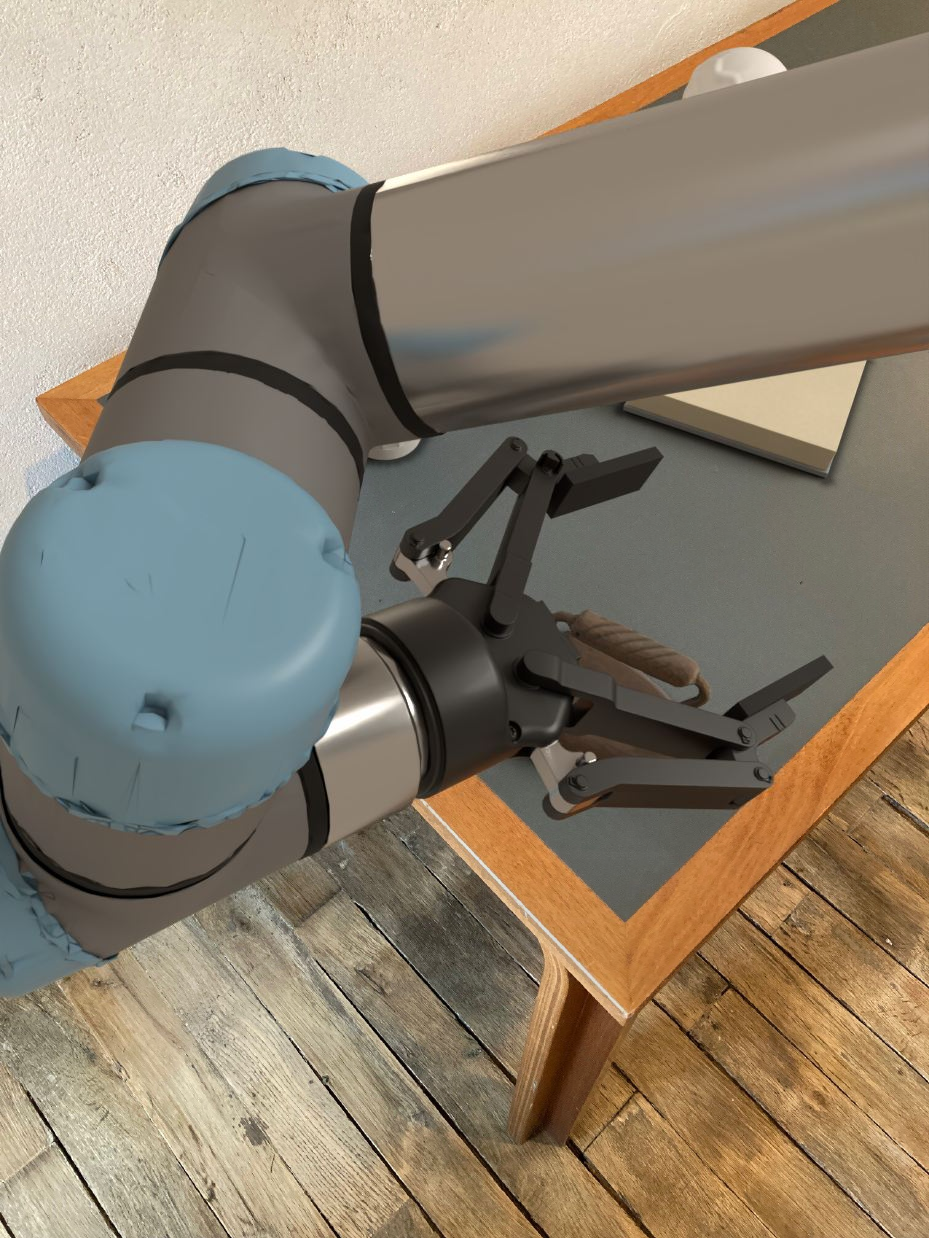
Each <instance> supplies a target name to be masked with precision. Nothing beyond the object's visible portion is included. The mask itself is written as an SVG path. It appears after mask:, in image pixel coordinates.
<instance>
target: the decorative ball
mask: <svg viewBox="0 0 929 1238" xmlns="http://www.w3.org/2000/svg"><path fill="white" fill-rule="evenodd" d="M787 70H788V69H787V68H786V67H785V65H784V64H783V63H782V62H781V61H780V60H779V59H778V58H777V57H776V56H775V55H774V54H771V53H770V52H768V51H766V50H763V49H761V48H757V47H751V46H739V47H731V48H728V49H725V50H721V51H719V52H718V53H716V54H713V55H712V56H710V57H708V58H706V59H705V60H704V61H703V62H702V63H700V64H698V65H697V66H696V67H695V68H694V70H693V71H692V73H691V76H690V79H689V81H688V83H687V85H686V87H685V89H684V91H683V93H682V98H681V99H685V98H688V97H692V96H696V95H699V94H703V93H706V92H710V91H714V90H717V89H721V88H725V87H728V86H732V85H736V84H739V83H743V82H747V81H750V80H754V79H758V78H761V77H765V76H769V75H772V74H776V73H780V72H783V71H787Z"/></svg>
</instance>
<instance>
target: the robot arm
mask: <svg viewBox="0 0 929 1238" xmlns="http://www.w3.org/2000/svg"><path fill="white" fill-rule="evenodd" d="M155 276H156V277H155V279H154V281H153V284H152V287H151V289H150V292H149V293H148V297H147V298H146V299H147V300H146V302H145V304H144V307H143V308H142V312H141V315H140V317H139V319H138V322H137V324H136V327H135V330H134V332H133V334H132V337H131V339H130V342H129V345H128V347H127V350H126V353H125V354H124V357H123V360H122V363H121V365H120V368H119V370H118V373H117V375H116V378H115V380H114V382H113V385H112V388H111V389H110V393H109V395H108V397H107V399H106V402H105V403H104V406H103V408H102V410H101V411H100V415H99V416H98V419H97V421H96V423H95V425H94V429H93V430H92V432H91V435H90V437H89V440H88V443H87V444H86V447H85V449H84V451H83V454H82V456H81V459H80V460H79V463H78V465H77V466H76V467H75V468H73V469H71V470H70V471H68V472H65V473H64V474H62V475H60V476H58V477H57V478H55V480H54V481H52V482H51V483H50V484H48V486H46V487H45V488H42V489H41V490H39V491H38V492H37V493H36V494H35V495H33V496H32V498H30V500H28V502H27V503H26V504H25V506H24V507H23V508H22V510H21V511H20V513H19V514H18V516H17V517H16V519H15V520H14V522H13V523H12V526H11V527H10V529H9V531H8V533H7V535H6V537H5V539H4V541H3V544H2V546H1V550H0V998H9V999H10V998H19V997H22V996H26V995H28V994H30V993H33V992H36V991H38V990H40V989H42V988H44V987H47V986H49V985H51V984H53V983H55V982H57V981H60V980H62V979H64V978H67V977H69V976H72V975H73V974H75V973H78V972H80V971H82V970H85V969H87V968H93V967H95V968H102V967H104V966H106V965H107V964H110V963H111V962H113V961H115V960H116V959H118V956H119V954H120V953H121V952H123V951H125V950H127V949H128V948H130V947H132V946H134V945H136V944H138V943H140V942H143V941H144V940H146V939H148V938H150V937H152V936H154V935H155V934H157V933H159V932H162V931H163V930H166V929H167V928H169V927H171V926H173V925H175V924H177V923H179V922H181V921H183V920H185V919H187V918H188V917H190V916H193V915H194V914H196V913H198V912H200V911H202V910H204V909H206V908H208V907H210V906H212V905H214V904H216V903H218V902H220V901H221V900H223V899H225V898H227V897H229V896H231V895H233V894H235V893H237V892H239V891H241V890H243V889H245V888H248V887H249V886H251V885H253V884H255V883H257V882H259V881H261V880H263V879H264V878H266V877H268V876H271V875H273V874H274V873H276V872H278V871H280V870H282V869H284V868H286V867H288V866H290V865H292V864H294V863H296V862H299V861H302V860H304V859H306V858H308V857H310V856H312V855H314V854H317V853H319V852H320V851H322V850H324V849H326V848H328V847H330V846H332V845H334V844H336V843H339V842H341V841H343V840H345V839H347V838H349V837H351V836H353V835H355V834H357V833H359V832H361V831H363V830H366V829H367V828H370V827H372V826H374V825H376V824H379V823H380V822H383V821H384V820H387V819H389V818H391V817H393V816H395V815H397V814H399V813H401V812H403V811H405V810H406V809H408V808H409V807H411V805H413V803H414V801H415V800H426V799H430V798H432V797H434V796H437V795H438V794H440V793H442V792H444V791H446V790H448V789H450V788H452V787H454V786H456V785H458V784H460V783H462V782H464V781H467V780H468V779H470V778H472V777H475V776H476V775H478V774H480V773H483V772H484V771H486V770H489V769H490V768H492V767H494V766H496V765H498V764H500V763H502V762H505V761H507V760H510V759H526V760H531V762H532V764H533V766H534V768H535V769H536V771H537V774H539V777H540V778H541V780H542V783H543V785H544V786H545V788H546V790H547V793H546V794H545V795H544V797H543V798H542V800H541V807H542V810H543V812H544V814H545V815H546V817H548V818H549V819H551V820H553V821H557V822H558V821H564V820H566V819H569V818H571V817H573V816H576V815H579V814H580V813H583V812H586V811H588V810H591V809H593V808H613V809H614V808H619V809H620V808H621V809H671V810H673V809H674V810H723V811H725V810H726V811H727V810H728V811H735V810H739V809H740V808H742V807H743V806H744V805H746V804H748V803H749V802H750V801H752V800H753V799H755V798H756V797H758V796H759V795H760V794H761V795H762V793H764V792H766V791H767V790H768V789H770V788H771V787H772V786H773V785H774V782H775V775H774V773H773V771H772V769H771V768H770V767H769V766H768V765H767V764H765V763H764V762H762V761H760V760H759V758H758V753H757V749H758V747H760V746H761V745H763V744H765V743H767V742H768V741H770V740H771V739H774V738H775V737H777V736H778V735H779V734H780V733H782V732H783V731H784V730H785V729H787V728H789V726H791V725H792V724H794V721H795V720H796V717H797V714H796V713H795V712H794V710H793V708H792V707H791V706H790V704H788V702H789V701H791V700H793V699H794V698H796V697H799V696H800V695H801V694H803V692H805V691H806V690H807V689H809V688H810V687H811V686H812V685H814V684H815V683H816V682H817V681H819V680H820V679H821V678H823V677H824V676H825V675H826V674H828V673H829V672H830V671H832V670H833V669H835V667H834V665H833V664H832V663H831V661H830V660H829V659H828V658H827V657H826V655H825V654H822V655H821V656H819V657H817V658H815V659H813V660H811V661H810V662H808V663H806V664H804V665H802V666H801V667H799V668H797V669H795V670H793V671H791V672H790V673H788V674H786V675H784V676H782V677H780V678H778V679H777V680H776V681H773V682H772V683H770V684H767V685H766V686H764V687H763V688H761V689H759V690H757V691H755V692H753V693H752V694H750V695H748V696H746V697H744V698H743V699H741V700H739V701H737V702H736V703H734V705H732V706H731V707H730V708H729V709H727V711H726V712H724V713H723V714H718V713H715V712H712V711H708V710H705V709H702V708H695V707H692V706H688V705H685V704H682V703H679V702H678V701H675V700H672V699H671V700H672V701H671V700H668V699H665V698H661V697H658V696H654V695H651V694H648V693H644V692H641V691H638V690H634V689H631V688H627V687H624V686H621V685H618V684H616V683H615V679H614V677H613V676H611V675H608V674H605V673H602V672H598V671H595V670H592V669H588V668H585V667H582V666H580V664H579V660H580V659H581V657H582V656H581V654H580V653H579V651H578V650H577V649H576V647H575V646H574V644H573V643H572V642H571V641H570V640H569V639H568V638H567V637H566V636H565V635H564V634H563V632H562V631H561V630H560V629H559V627H558V624H557V625H556V622H555V620H554V618H553V615H552V614H553V613H552V611H551V609H549V607H548V606H547V605H546V603H545V602H544V600H543V599H541V600H539V601H537V600H535V599H534V598H533V597H531V596H530V595H528V594H525V593H524V592H525V589H526V586H527V583H528V579H529V577H530V573H531V569H532V567H533V562H532V559H533V556H534V552H535V550H536V546H537V542H538V540H539V538H540V537H539V536H540V533H541V530H542V528H543V524H544V521H545V517H546V515H547V516H548V518H550V520H552V519H556V518H559V517H562V516H565V515H568V514H571V513H574V512H577V511H580V510H583V509H586V508H590V507H593V506H595V505H598V504H602V503H604V502H607V501H610V500H613V499H617V498H620V497H624V496H625V495H629V494H632V493H635V492H638V491H640V490H641V489H642V487H643V486H644V485H645V484H646V483H647V480H648V479H649V478H650V477H651V475H652V474H653V473H654V471H656V468H658V466H659V464H660V463H661V462H662V460H663V459H664V457H665V456H664V455H663V453H661V451H660V450H659V449H658V447H657V446H656V445H655V446H652V447H647V448H645V449H641V450H638V451H635V452H631V453H628V454H625V455H621V456H618V457H617V456H616V457H615V458H614V457H613V458H611V459H607V460H604V461H600V460H598V458H597V457H596V456H595V455H594V454H589V453H582V454H579V455H578V454H577V455H576V456H572V457H569V458H564V457H563V456H562V455H561V453H559V452H558V451H556V450H552V449H545V450H543V451H542V452H541V455H540V456H539V458H538V460H536V459H535V458H533V456H531V455H530V454H529V453H527V452H528V451H529V447H528V444H527V443H526V441H524V440H523V439H522V438H520V437H518V436H513V435H512V436H508V437H507V438H505V440H504V441H503V442H502V443H501V444H500V445H499V446H498V447H497V449H496V450H495V451H493V453H492V454H491V455H490V456H489V458H488V459H486V461H485V462H484V463H483V464H482V466H481V467H480V468H479V469H478V470H477V471H476V472H475V474H473V475H472V477H471V478H470V479H469V480H468V481H467V483H465V485H463V486H462V488H461V489H460V490H459V491H458V492H457V493H456V495H455V496H454V497H453V498H452V499H451V500H450V501H449V502H448V503H447V505H446V506H445V507H444V508H443V509H442V510H441V511H440V512H439V514H438V515H436V516H435V517H432V518H430V519H427V520H426V521H423V522H421V523H418V524H416V525H414V526H412V527H409V528H408V529H407V530H405V532H404V534H403V536H402V538H401V540H400V542H399V544H398V546H397V548H396V551H395V553H394V555H393V557H392V560H391V562H390V564H389V566H388V569H389V571H388V572H389V574H390V576H391V577H393V579H394V580H397V581H399V582H403V583H406V582H412V583H413V584H414V586H415V587H416V588H417V590H419V592H420V593H421V594H422V595H423V596H419V597H414V598H412V599H408V600H406V601H402V602H399V603H396V604H394V605H391V606H389V607H386V608H383V609H380V610H378V611H375V612H372V613H369V614H366V615H363V616H362V597H361V589H360V584H359V582H358V580H357V578H356V575H355V570H354V566H353V564H352V561H351V559H350V557H349V550H350V546H351V540H352V534H353V530H354V524H355V520H356V514H357V510H358V504H359V501H360V496H361V490H362V486H363V481H364V475H365V471H366V465H367V462H368V458H369V457H368V455H369V451H370V450H371V449H372V448H374V447H376V446H382V445H388V444H394V443H400V442H406V441H412V440H418V439H420V440H422V439H429V438H434V437H439V436H440V437H441V436H443V435H446V434H447V433H449V432H457V431H462V430H467V429H475V428H480V427H485V426H486V427H487V426H489V425H490V426H491V425H496V424H502V423H503V424H504V423H509V422H515V421H520V420H525V419H531V418H537V417H543V416H549V415H555V414H561V413H567V412H568V413H569V412H574V411H580V410H585V409H590V408H596V407H602V406H608V405H614V404H619V403H624V402H625V403H626V401H632V400H638V399H644V398H649V397H655V396H661V395H667V394H673V393H679V392H685V391H690V390H696V389H702V388H708V387H714V386H720V385H725V384H731V383H737V382H743V381H749V380H755V379H761V378H766V377H772V376H778V375H784V374H790V373H796V372H801V371H807V370H813V369H819V368H825V367H831V366H837V365H842V364H848V363H854V362H860V361H866V362H867V361H871V360H876V359H883V358H889V357H895V356H899V355H900V356H901V355H906V354H911V353H912V354H913V353H918V352H925V351H929V31H927V32H923V33H919V34H915V35H912V36H908V37H905V38H901V39H898V40H894V41H890V42H886V43H883V44H879V45H874V46H871V47H868V48H864V49H860V50H857V51H853V52H850V53H846V54H842V55H839V56H835V57H831V58H827V59H823V60H821V61H817V62H813V63H809V64H806V65H801V66H799V67H795V68H790V69H787V71H783V72H780V73H776V74H772V75H769V76H765V77H761V78H758V79H754V80H750V81H747V82H743V83H739V84H736V85H732V86H728V87H725V88H721V89H717V90H714V91H710V92H706V93H703V94H699V95H696V96H692V97H688V98H685V99H682V98H681V99H678V100H674V101H671V102H666V103H663V104H659V105H655V106H652V107H649V108H645V109H641V110H637V111H634V112H630V113H626V114H622V115H619V116H615V117H612V118H608V119H604V120H600V121H597V122H593V123H590V124H586V125H583V126H578V127H575V128H571V129H568V130H564V131H561V132H557V133H553V134H549V135H546V136H545V135H544V136H542V137H538V138H534V139H531V140H527V141H524V142H520V143H516V144H513V145H509V146H506V147H502V148H497V149H495V150H491V151H487V152H485V153H479V154H476V155H473V156H469V157H466V158H465V157H464V158H462V159H458V160H454V161H450V162H446V163H444V164H440V165H436V166H432V167H428V168H424V169H421V170H418V171H417V170H416V171H414V172H409V173H405V174H403V175H399V176H396V177H392V178H388V179H384V180H379V181H376V182H373V183H369V182H368V181H367V180H366V179H365V178H364V177H363V176H361V175H360V174H359V173H358V172H356V171H355V170H354V169H352V168H350V167H349V166H347V165H346V164H345V163H342V162H340V161H339V160H336V159H334V158H332V157H329V156H327V155H326V156H325V155H323V154H322V155H321V154H320V155H314V154H311V153H307V152H304V151H298V150H297V151H296V150H291V149H290V148H287V147H284V146H282V147H280V146H279V147H267V148H260V149H255V150H252V151H250V152H246V153H243V154H241V155H239V156H237V157H235V158H232V159H231V160H229V161H228V162H226V163H225V164H223V165H222V166H221V167H219V168H218V169H216V170H215V171H214V173H212V175H211V176H210V177H209V178H208V179H206V181H205V183H204V184H203V185H202V187H201V188H200V190H199V191H198V193H197V194H196V197H195V198H194V200H193V202H192V204H191V205H190V207H189V209H188V210H187V213H186V214H185V216H184V218H183V220H182V221H181V222H180V223H179V224H177V225H176V226H175V227H174V228H173V230H172V232H171V233H170V235H169V237H168V239H167V241H166V244H165V246H164V248H163V252H162V254H161V258H160V259H159V263H158V266H157V271H156V275H155ZM507 488H509V489H510V490H511V491H513V492H514V493H515V494H517V496H516V498H515V501H514V504H513V507H512V509H511V513H510V516H509V518H508V522H507V524H506V528H505V530H504V533H503V536H502V539H501V540H500V541H501V542H500V545H499V547H498V550H497V553H496V556H495V559H494V562H493V565H492V567H491V570H490V573H489V576H488V579H487V582H486V583H483V582H479V581H475V580H472V579H468V578H462V577H457V576H456V577H455V576H453V577H452V576H451V577H449V576H448V574H447V572H448V570H449V568H450V567H451V564H452V562H453V561H454V554H453V552H454V551H455V550H456V549H457V548H458V547H459V545H460V544H461V542H462V541H463V540H464V539H465V538H466V536H467V535H469V533H470V532H471V530H473V529H474V527H475V526H476V525H477V524H478V522H479V521H480V520H481V519H482V517H483V516H484V515H485V514H486V513H487V512H488V510H489V509H490V508H491V506H492V505H493V504H494V503H495V502H496V501H497V500H498V499H499V497H500V496H501V494H502V493H503V492H504V491H505V490H506V489H507ZM574 697H578V698H579V700H578V701H577V702H575V703H573V700H574ZM572 703H573V704H572ZM562 733H566V734H569V735H573V736H585V735H596V736H599V737H603V738H606V739H610V740H613V741H617V742H620V743H624V744H628V745H631V746H635V747H638V748H642V749H645V750H649V751H652V752H656V753H659V754H663V755H667V756H670V757H674V758H658V757H633V756H615V757H608V758H604V759H600V760H597V757H596V755H595V754H594V753H593V752H591V751H587V752H585V753H584V752H571V751H568V750H566V749H565V748H563V747H562V746H561V744H560V743H559V741H558V740H559V738H560V737H561V735H562Z"/></svg>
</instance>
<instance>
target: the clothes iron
mask: <svg viewBox="0 0 929 1238" xmlns="http://www.w3.org/2000/svg"><path fill="white" fill-rule="evenodd" d="M552 615H553V618H554V620H555V622H556V625H557V626H558V623H560V622H561V623H565V624H567V626H568V628H569V629H568V630H565V631H563V632H562V633H563V634H564V635H565V636H566V637H567V638H568V639H569V640H570V641H571V642H572V643H573V644H574V646H575V647H576V649H577V650H578V651H579V653H580V654H581V656H582V657H581V659H580V660H579V664H580V666H582V667H585V668H588V669H592V670H595V671H598V672H602V673H605V674H608V675H611V676H613V677H614V679H615V683H616V684H618V685H621V686H624V687H627V688H631V689H634V690H638V691H641V692H644V693H648V694H651V695H654V696H658V697H661V698H665V699H668V700H671V701H673V700H672V699H671V698H670V696H669V695H668V694H667V693H666V692H665V691H664V690H663V689H662V688H661V687H660V686H659V685H658V684H657V683H655V681H654V680H652V679H651V678H650V677H652V678H654V679H656V680H659V681H661V682H663V683H665V684H668V685H670V686H672V687H675V688H684V687H688V686H692V685H693V686H695V687H696V688H697V689H698V693H697V695H696V696H692V697H690V698H687V699H685V700H682V701H679V702H678V703H682V704H685V705H688V706H692V707H695V708H698V709H700V707H702V706H704V705H706V704H707V703H708V702H709V701H710V700H711V695H712V688H711V687H710V685H709V683H708V681H707V680H706V679H705V678H704V677H703V676H702V675H701V669H700V666H699V665H698V663H697V662H696V661H695V660H694V659H692V658H691V657H689V656H688V655H686V654H683V653H681V652H680V651H679V652H678V651H677V650H675V649H673V648H671V647H669V646H667V645H665V644H663V643H661V642H658V641H655V640H654V639H653V638H651V637H649V636H647V635H645V634H642V633H639V632H638V631H636V630H635V629H633V628H630V627H628V626H625V625H624V624H621V623H619V622H617V621H615V620H612V619H610V618H608V617H606V616H603V615H600V614H598V613H596V612H594V611H592V610H591V609H585V610H582V611H581V612H580V613H579V614H573V613H571V612H568V611H564V610H558V611H555V612H553V613H552ZM647 675H648V676H649V677H648V676H647ZM578 700H579V698H578V697H574V700H573V703H575V702H577V701H578ZM573 703H572V704H573ZM558 741H559V743H560V744H561V746H562V747H563V748H565V749H566V750H568V751H571V752H584V753H585V752H587V751H591V752H593V753H594V754H595V755H596V757H597V760H600V759H604V758H608V757H615V756H633V757H658V758H674V757H670V756H667V755H663V754H659V753H656V752H652V751H649V750H645V749H642V748H638V747H635V746H631V745H628V744H624V743H620V742H617V741H613V740H610V739H606V738H603V737H599V736H596V735H585V736H573V735H569V734H566V733H562V735H561V737H560V738H559V740H558Z"/></svg>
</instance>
